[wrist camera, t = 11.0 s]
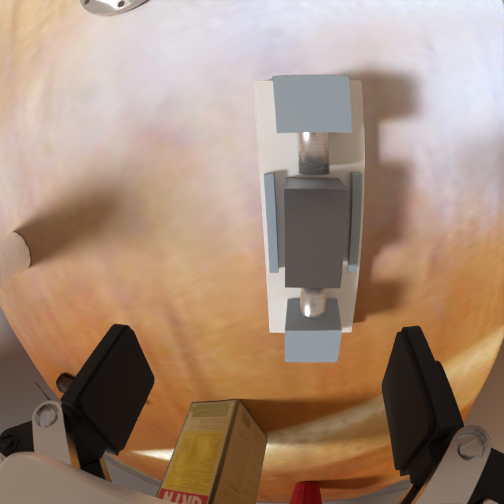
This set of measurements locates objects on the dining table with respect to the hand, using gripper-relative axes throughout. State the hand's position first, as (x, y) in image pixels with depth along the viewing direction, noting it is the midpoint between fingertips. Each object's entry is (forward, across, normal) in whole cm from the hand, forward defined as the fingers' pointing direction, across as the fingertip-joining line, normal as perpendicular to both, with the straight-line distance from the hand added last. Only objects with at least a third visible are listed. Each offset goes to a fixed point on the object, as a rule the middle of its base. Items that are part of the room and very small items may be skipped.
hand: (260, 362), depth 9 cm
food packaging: (+19, +10, +36) cm, 42 cm away
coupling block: (+18, -2, +2) cm, 18 cm away
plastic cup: (+18, -4, +69) cm, 71 cm away
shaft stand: (+19, -3, +2) cm, 19 cm away
